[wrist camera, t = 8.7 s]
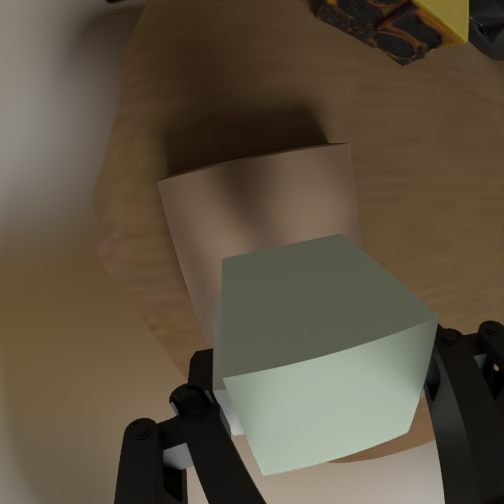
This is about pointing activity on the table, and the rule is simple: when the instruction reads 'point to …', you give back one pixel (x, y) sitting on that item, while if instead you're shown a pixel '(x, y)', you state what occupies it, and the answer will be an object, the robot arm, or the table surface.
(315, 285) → the sage block
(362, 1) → the candle
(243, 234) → the walnut block
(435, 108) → the table surface
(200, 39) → the table surface
